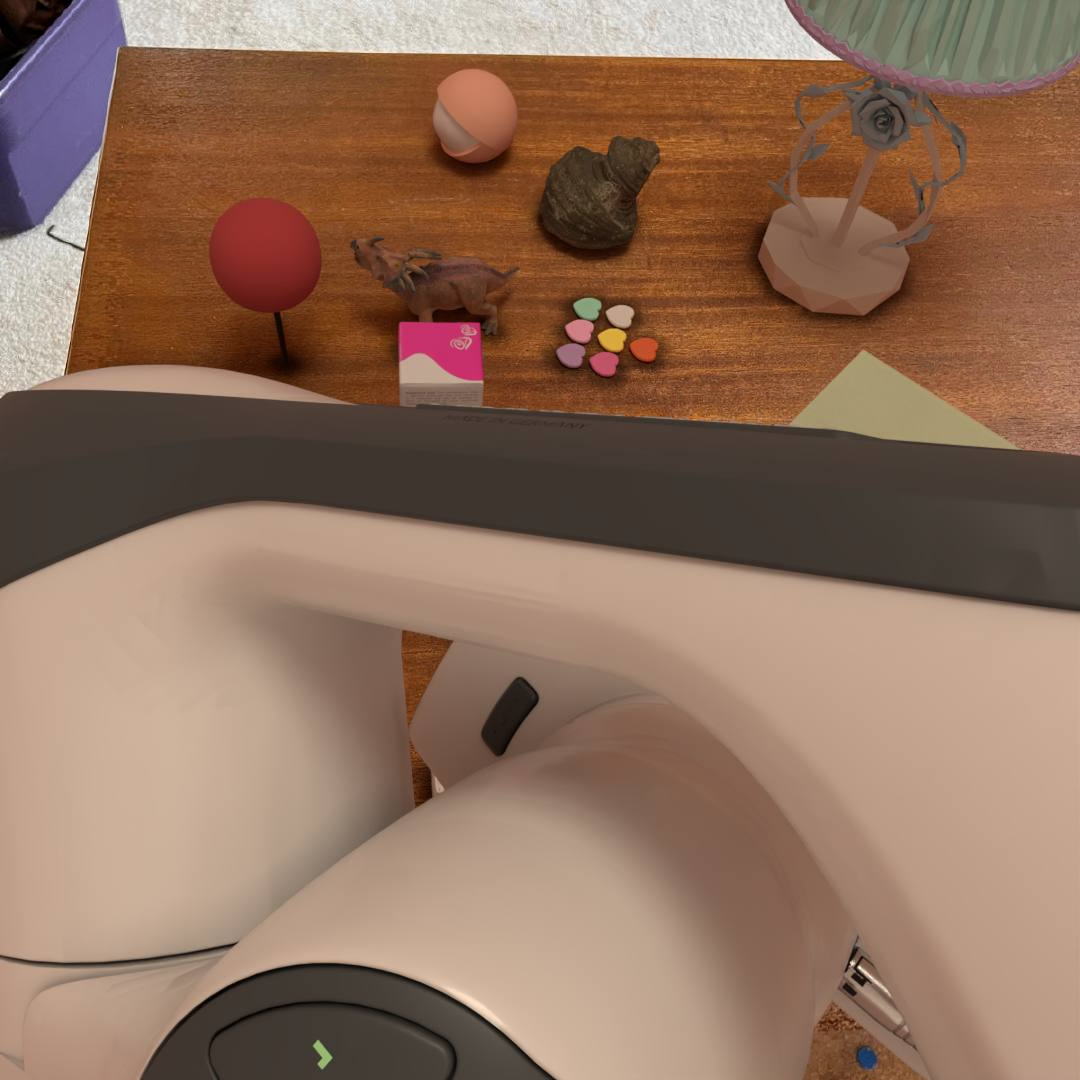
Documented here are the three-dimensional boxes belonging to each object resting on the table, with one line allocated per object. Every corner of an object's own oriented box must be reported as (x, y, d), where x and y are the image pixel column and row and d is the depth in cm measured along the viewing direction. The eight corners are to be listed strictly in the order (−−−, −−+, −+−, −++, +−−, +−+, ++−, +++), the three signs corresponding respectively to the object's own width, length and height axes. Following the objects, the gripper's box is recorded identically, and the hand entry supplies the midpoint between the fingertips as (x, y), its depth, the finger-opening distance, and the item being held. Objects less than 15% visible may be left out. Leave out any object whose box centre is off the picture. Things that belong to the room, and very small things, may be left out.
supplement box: (480, 484, 81) (484, 384, 71) (401, 485, 80) (393, 385, 70) (477, 422, 84) (480, 319, 74) (400, 423, 83) (393, 319, 73)
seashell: (656, 235, 87) (701, 162, 92) (552, 129, 84) (604, 59, 88) (577, 291, 97) (621, 222, 101) (480, 198, 93) (530, 131, 98)
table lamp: (672, 298, 92) (798, -234, 58) (755, 153, 103) (902, -365, 69) (915, 392, 88) (1202, -119, 55) (975, 231, 99) (1244, -277, 65)
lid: (769, 447, 74) (772, 439, 74) (859, 356, 79) (863, 348, 79) (937, 561, 70) (942, 555, 70) (1020, 458, 75) (1026, 451, 75)
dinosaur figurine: (373, 364, 86) (365, 279, 78) (357, 312, 89) (347, 225, 81) (536, 332, 89) (544, 247, 81) (515, 282, 92) (520, 195, 84)
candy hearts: (576, 295, 91) (577, 292, 91) (667, 318, 91) (667, 315, 90) (551, 363, 87) (552, 360, 87) (646, 387, 86) (646, 385, 86)
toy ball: (422, 131, 102) (420, 55, 95) (501, 120, 103) (504, 44, 96) (444, 187, 98) (443, 112, 91) (526, 175, 99) (531, 100, 93)
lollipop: (342, 391, 84) (322, 245, 72) (243, 406, 83) (205, 260, 70) (328, 320, 88) (306, 169, 76) (232, 333, 87) (194, 182, 74)
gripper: (1146, 1062, 24) (1106, 859, 36) (471, 525, 30) (635, 510, 43) (967, 1240, 26) (988, 988, 38) (365, 698, 32) (553, 635, 45)
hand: (798, 733), depth 41 cm, fingers closed
